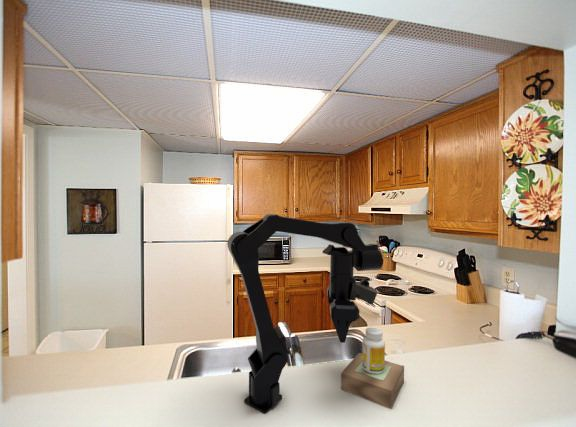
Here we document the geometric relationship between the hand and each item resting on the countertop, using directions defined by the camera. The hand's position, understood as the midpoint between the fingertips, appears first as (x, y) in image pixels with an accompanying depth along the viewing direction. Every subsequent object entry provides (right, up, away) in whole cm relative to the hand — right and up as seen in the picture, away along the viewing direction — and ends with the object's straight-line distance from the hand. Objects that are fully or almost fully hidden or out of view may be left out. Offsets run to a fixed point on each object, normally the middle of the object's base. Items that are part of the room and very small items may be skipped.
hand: (340, 333), depth 72 cm
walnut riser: (+8, -13, 0) cm, 15 cm away
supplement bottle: (+8, -9, 0) cm, 12 cm away
